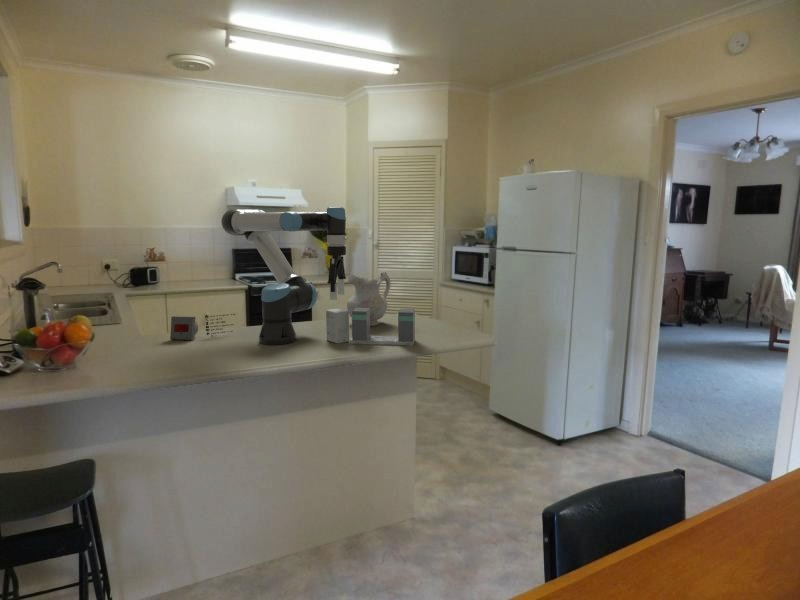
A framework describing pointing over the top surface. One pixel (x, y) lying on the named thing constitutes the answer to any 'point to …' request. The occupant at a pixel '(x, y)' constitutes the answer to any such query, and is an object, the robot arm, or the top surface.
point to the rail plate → (382, 341)
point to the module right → (406, 325)
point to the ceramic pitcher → (369, 296)
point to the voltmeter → (188, 327)
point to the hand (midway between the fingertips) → (337, 297)
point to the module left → (360, 323)
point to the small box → (337, 325)
